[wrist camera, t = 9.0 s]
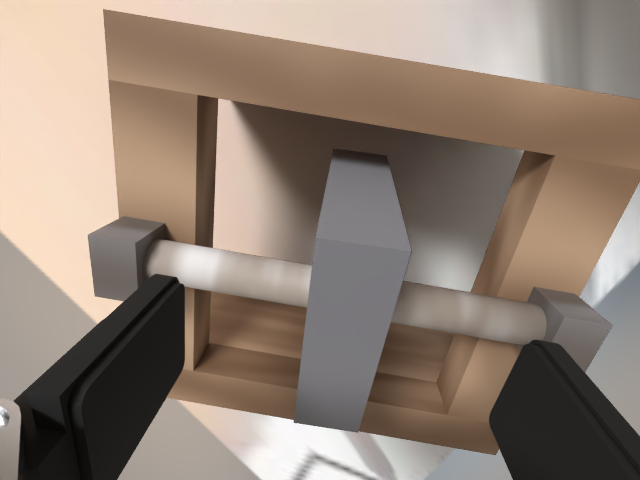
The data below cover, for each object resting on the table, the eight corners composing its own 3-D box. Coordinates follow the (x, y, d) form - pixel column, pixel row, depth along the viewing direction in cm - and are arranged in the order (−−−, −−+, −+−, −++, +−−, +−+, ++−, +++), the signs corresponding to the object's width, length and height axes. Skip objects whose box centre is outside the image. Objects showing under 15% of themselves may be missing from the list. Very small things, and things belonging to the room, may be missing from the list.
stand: (227, 56, 22) (51, -11, 9) (507, 104, 22) (751, 107, 9) (217, 275, 28) (105, 427, 15) (435, 313, 28) (514, 499, 15)
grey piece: (333, 148, 15) (315, 237, 8) (386, 155, 15) (411, 250, 8) (315, 287, 19) (293, 422, 13) (357, 293, 19) (358, 432, 12)
